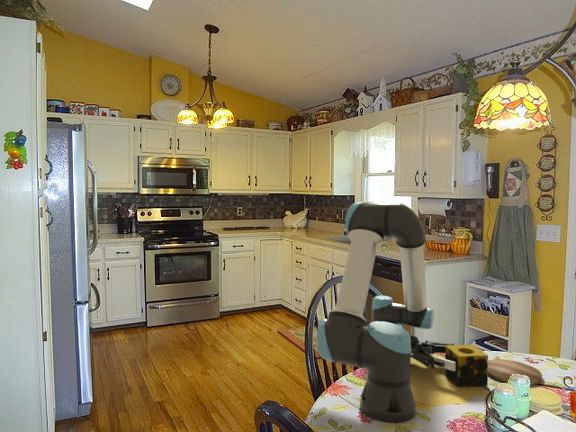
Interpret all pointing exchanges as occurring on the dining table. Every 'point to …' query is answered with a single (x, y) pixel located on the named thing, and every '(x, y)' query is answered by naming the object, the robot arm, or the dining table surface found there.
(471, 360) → the yellow spotted cube
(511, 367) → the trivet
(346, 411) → the dining table surface
